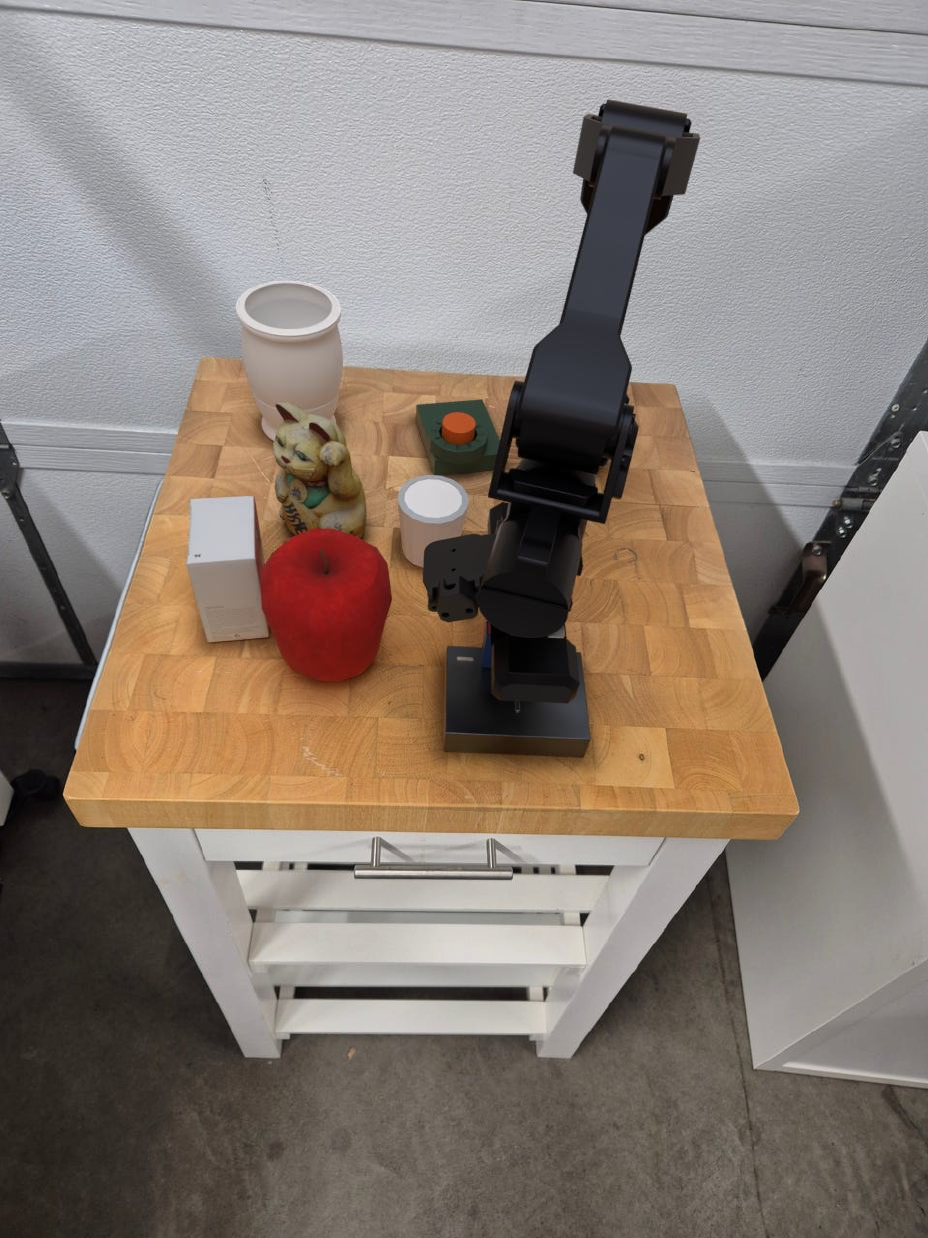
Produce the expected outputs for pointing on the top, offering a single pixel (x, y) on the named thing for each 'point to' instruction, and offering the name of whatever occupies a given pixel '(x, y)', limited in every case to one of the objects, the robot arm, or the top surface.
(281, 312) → the jar
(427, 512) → the white cup
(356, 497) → the lucky beckoning cat
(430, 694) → the top surface
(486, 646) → the tap handle
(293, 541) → the apple
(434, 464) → the button base
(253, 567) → the small box
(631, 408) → the robot arm
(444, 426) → the button
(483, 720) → the tap plate
